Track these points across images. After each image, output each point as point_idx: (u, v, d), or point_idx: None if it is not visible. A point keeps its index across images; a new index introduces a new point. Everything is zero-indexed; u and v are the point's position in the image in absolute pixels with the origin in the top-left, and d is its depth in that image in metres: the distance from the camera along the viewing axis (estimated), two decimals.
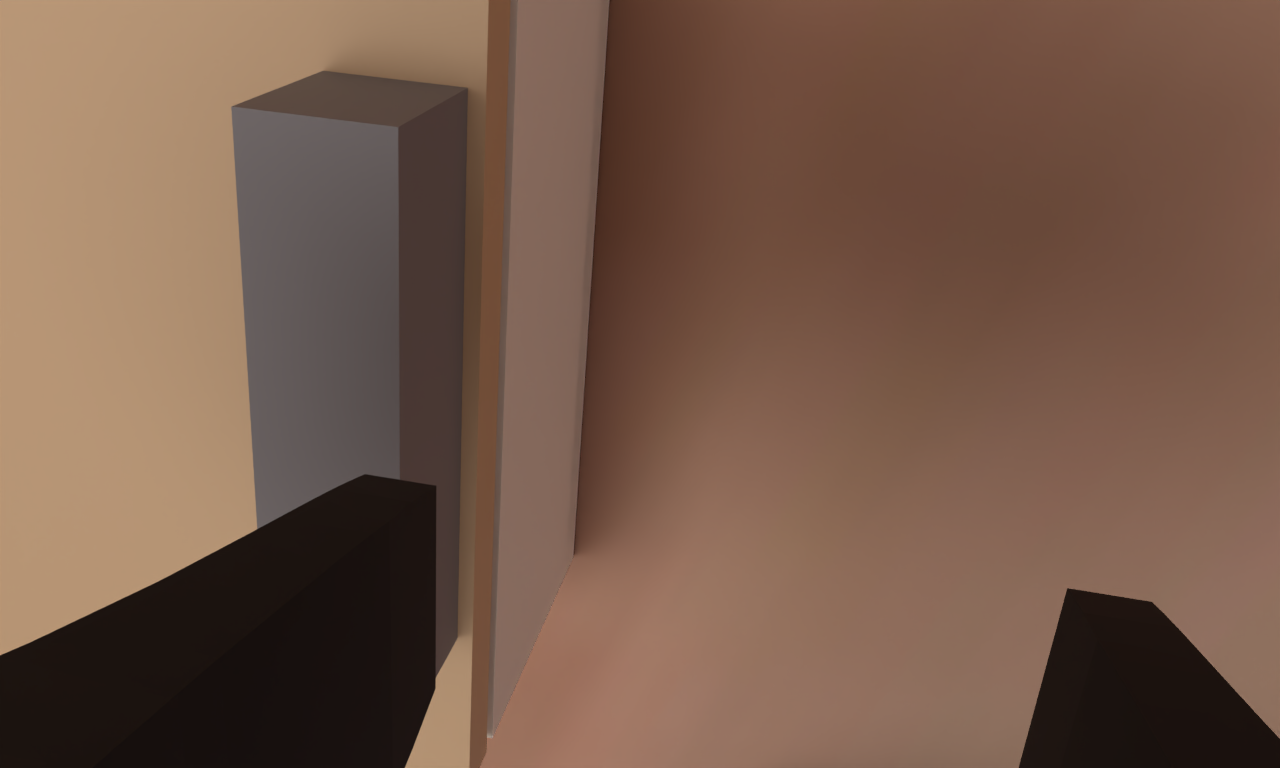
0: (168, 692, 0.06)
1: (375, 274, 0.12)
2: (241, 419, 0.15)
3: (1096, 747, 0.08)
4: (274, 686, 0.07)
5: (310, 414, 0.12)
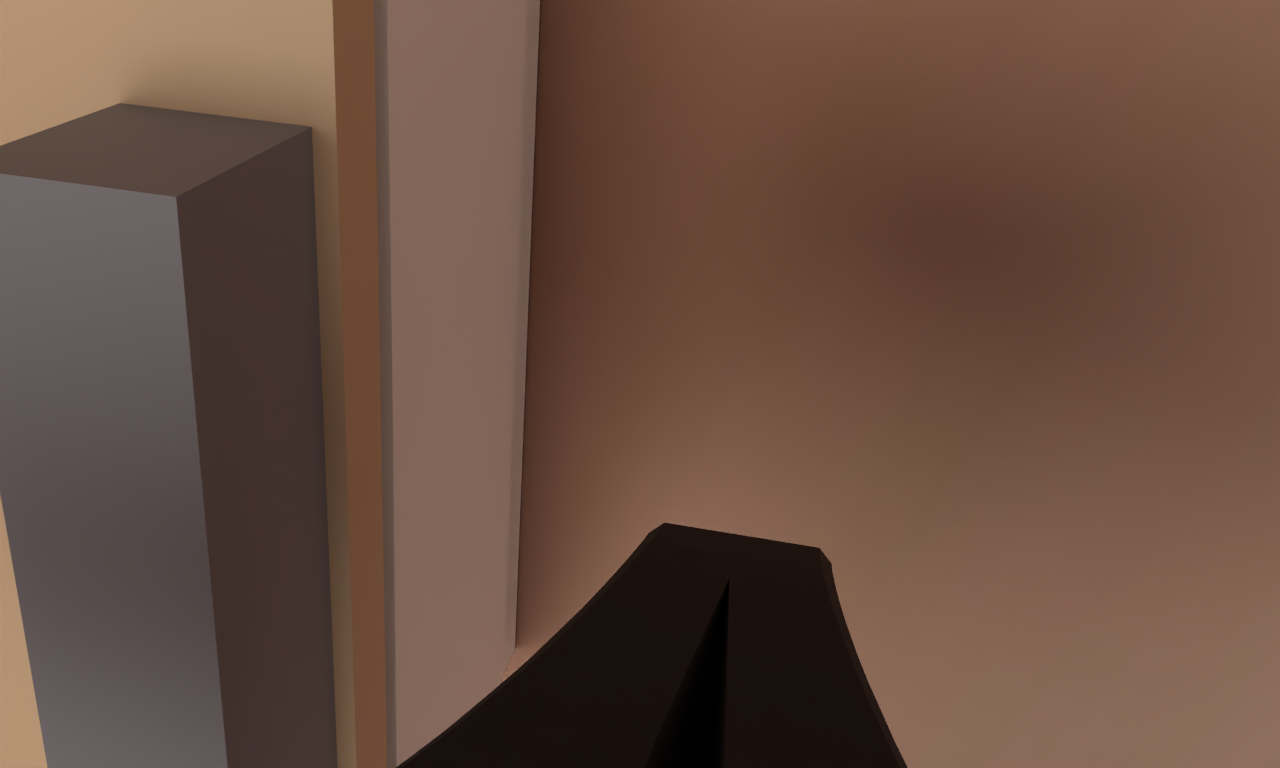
0: None
1: (163, 397, 0.08)
2: None
3: (719, 679, 0.08)
4: (670, 760, 0.07)
5: (93, 577, 0.09)
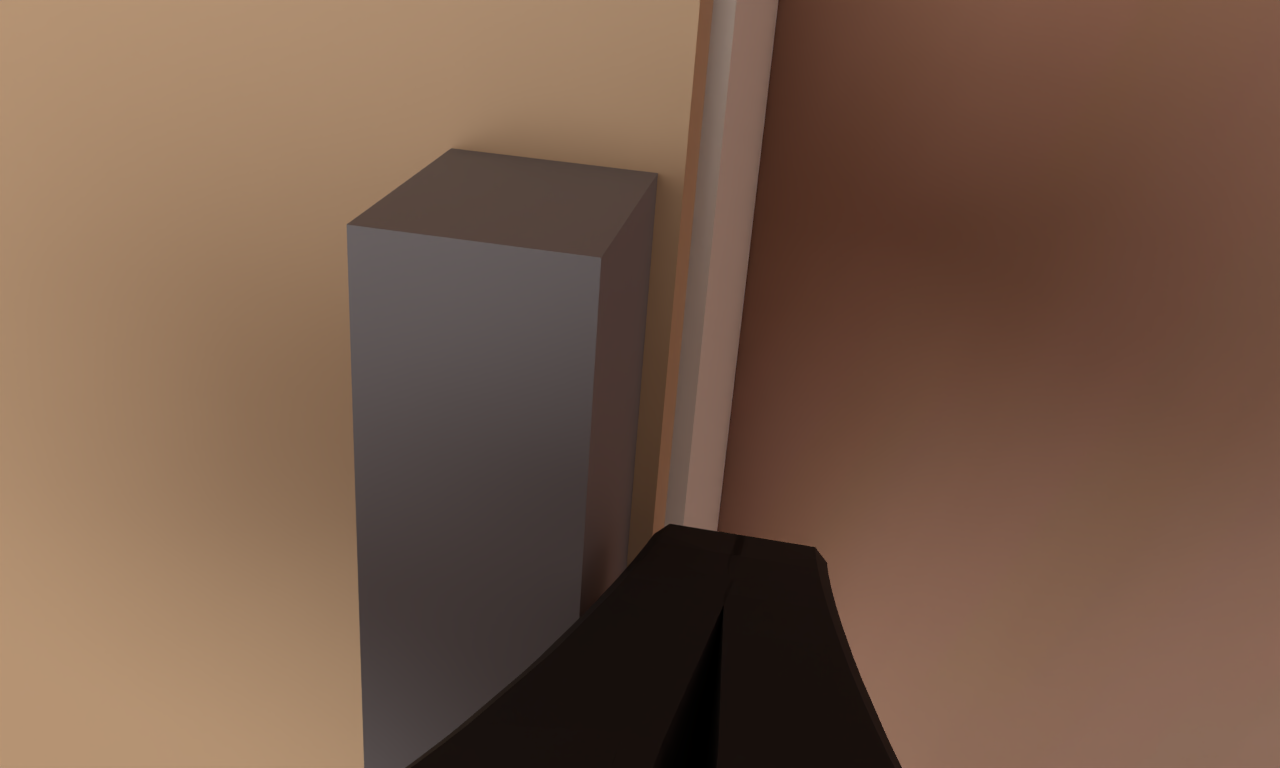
0: None
1: (555, 461, 0.08)
2: (324, 595, 0.11)
3: (714, 678, 0.08)
4: (676, 762, 0.07)
5: (448, 643, 0.09)
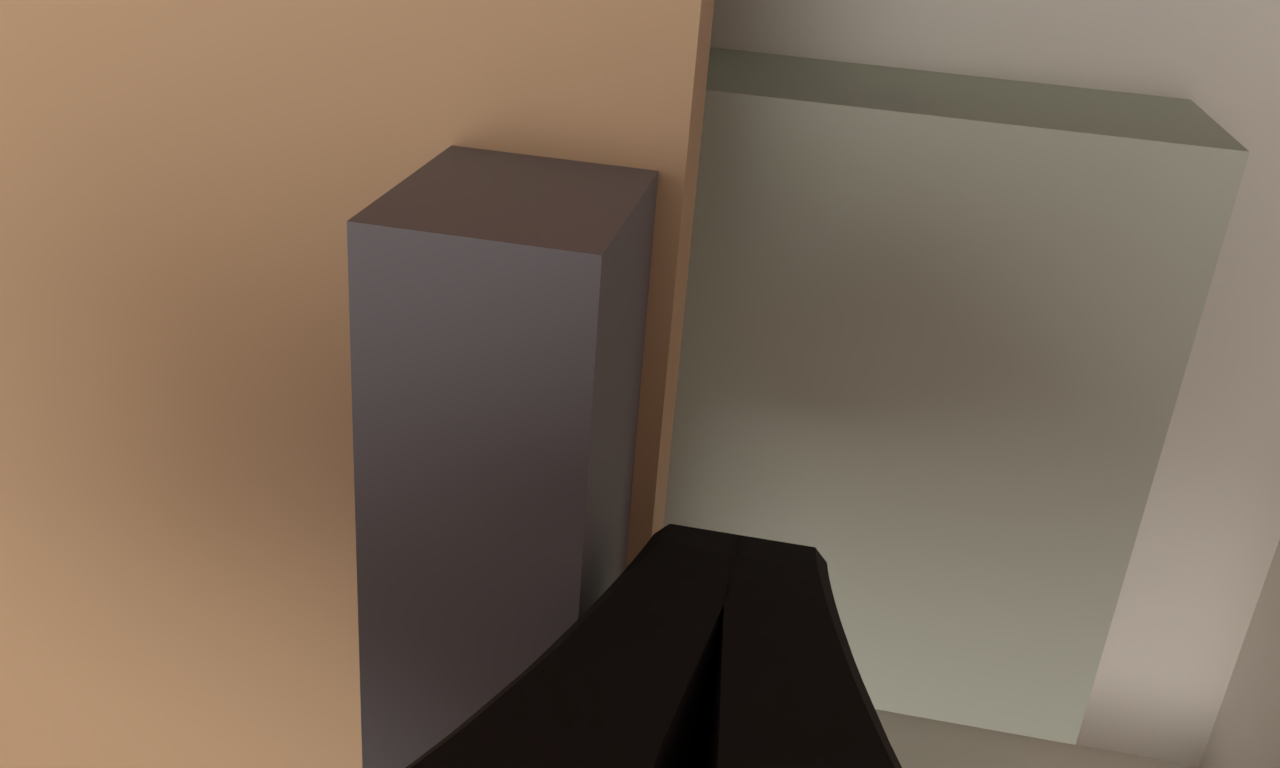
0: None
1: (553, 458, 0.08)
2: (323, 592, 0.11)
3: (714, 678, 0.08)
4: (677, 762, 0.07)
5: (445, 641, 0.09)
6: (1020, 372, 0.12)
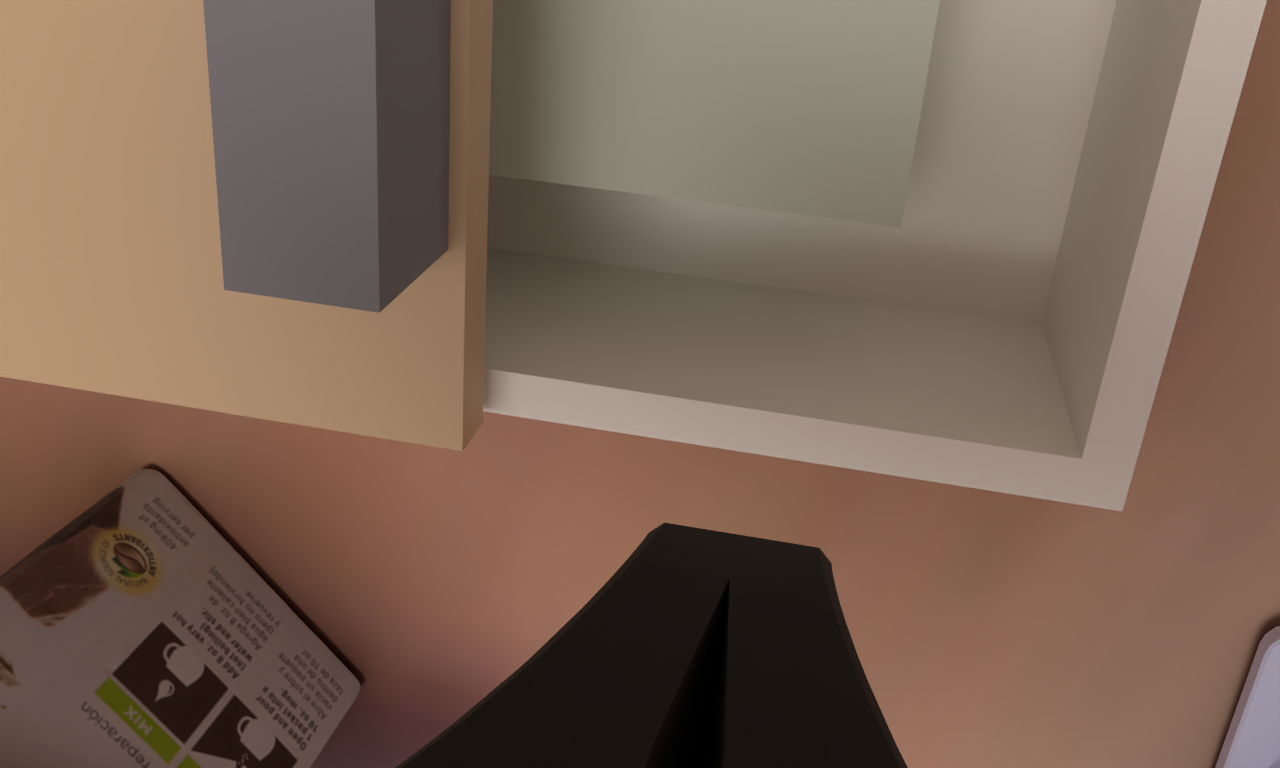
0: None
1: None
2: None
3: (720, 679, 0.08)
4: (670, 761, 0.07)
5: None
6: None
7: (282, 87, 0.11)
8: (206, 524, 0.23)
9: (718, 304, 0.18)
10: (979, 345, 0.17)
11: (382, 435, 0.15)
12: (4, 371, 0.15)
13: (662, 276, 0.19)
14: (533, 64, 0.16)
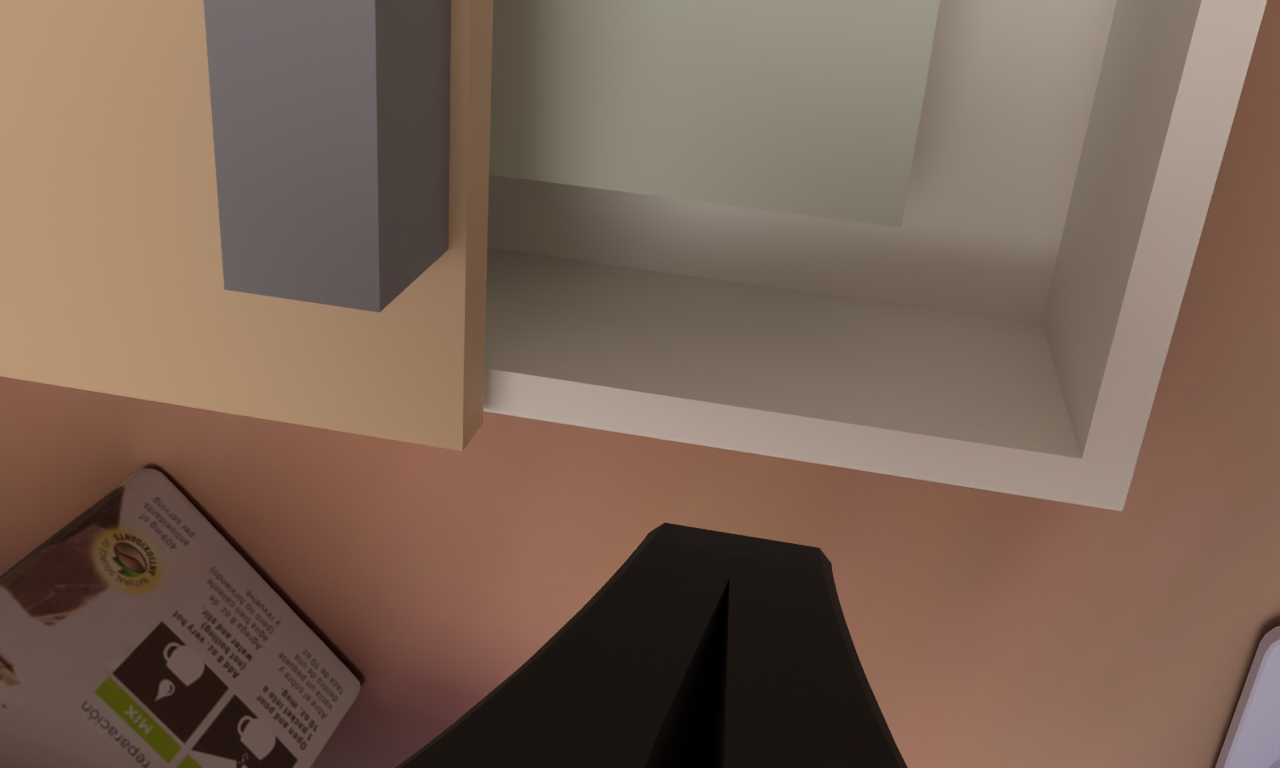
0: None
1: None
2: None
3: (719, 679, 0.08)
4: (670, 761, 0.07)
5: None
6: None
7: (282, 87, 0.11)
8: (206, 524, 0.23)
9: (718, 304, 0.18)
10: (979, 345, 0.17)
11: (383, 434, 0.15)
12: (4, 371, 0.15)
13: (662, 276, 0.19)
14: (533, 64, 0.16)
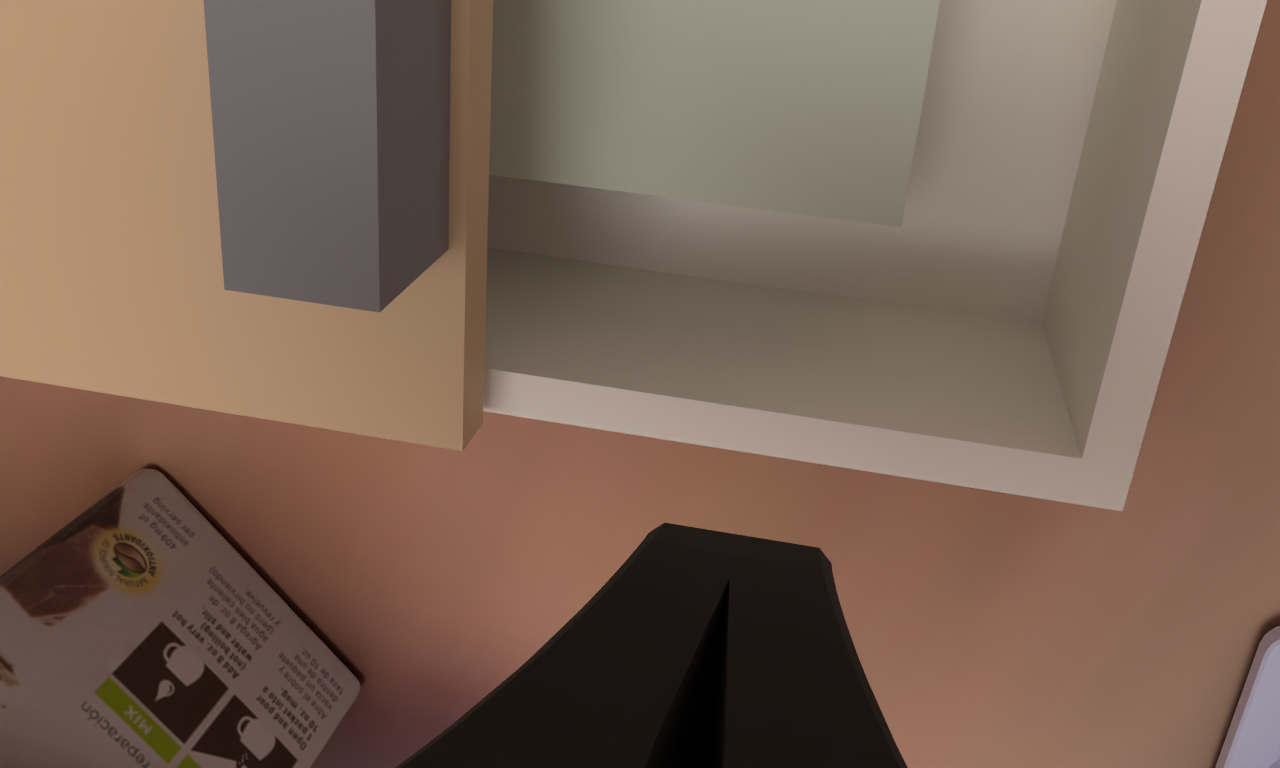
0: None
1: None
2: None
3: (719, 679, 0.08)
4: (670, 761, 0.07)
5: None
6: None
7: (282, 87, 0.11)
8: (206, 524, 0.23)
9: (718, 304, 0.18)
10: (979, 345, 0.17)
11: (383, 434, 0.15)
12: (4, 371, 0.15)
13: (662, 276, 0.19)
14: (533, 64, 0.16)
